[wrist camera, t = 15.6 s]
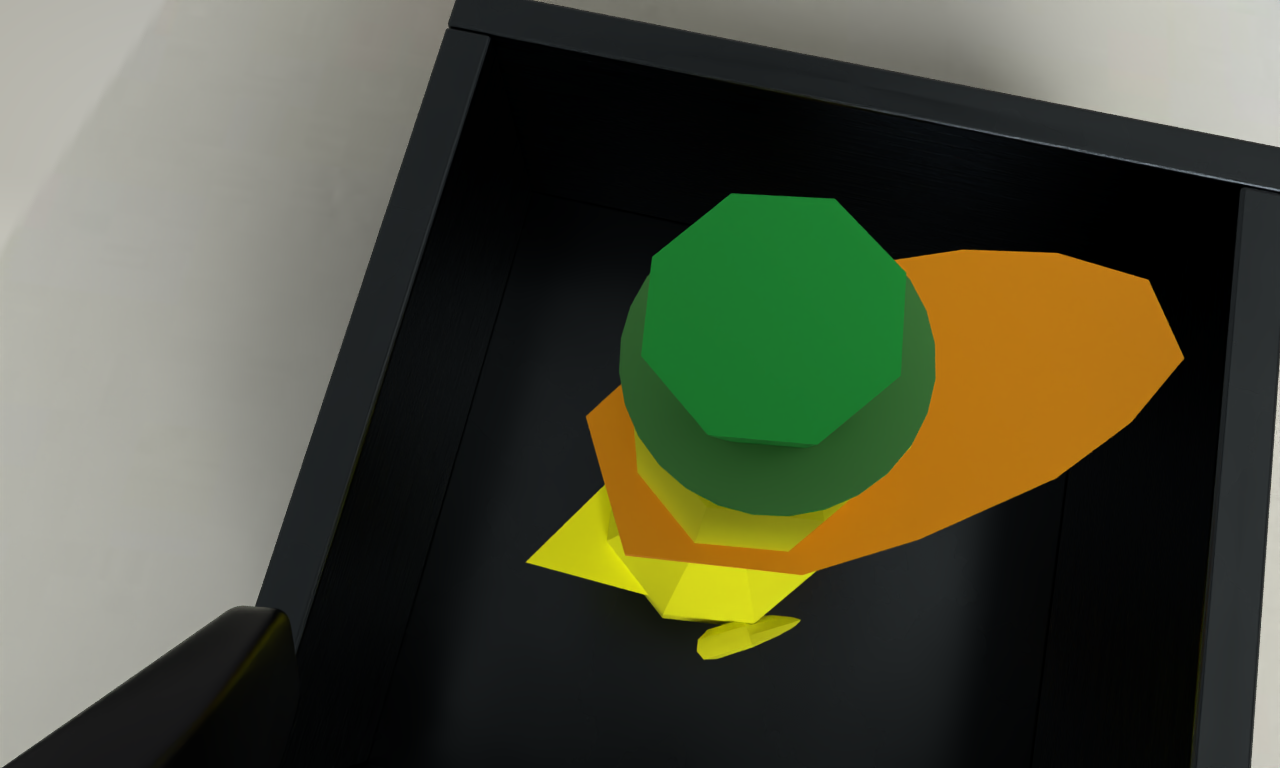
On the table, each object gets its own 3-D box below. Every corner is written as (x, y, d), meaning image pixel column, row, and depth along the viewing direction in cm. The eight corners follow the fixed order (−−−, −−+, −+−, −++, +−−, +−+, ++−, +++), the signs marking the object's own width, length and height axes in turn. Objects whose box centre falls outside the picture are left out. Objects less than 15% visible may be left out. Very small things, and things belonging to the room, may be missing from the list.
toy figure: (894, 386, 18) (1325, -111, 6) (966, 580, 17) (1621, 403, 6) (530, 490, 18) (300, 158, 6) (585, 696, 17) (431, 766, 5)
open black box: (1034, 978, 16) (1228, 1137, 11) (325, 792, 17) (171, 852, 12) (1115, 294, 19) (1296, 148, 14) (511, 167, 20) (459, -17, 15)
